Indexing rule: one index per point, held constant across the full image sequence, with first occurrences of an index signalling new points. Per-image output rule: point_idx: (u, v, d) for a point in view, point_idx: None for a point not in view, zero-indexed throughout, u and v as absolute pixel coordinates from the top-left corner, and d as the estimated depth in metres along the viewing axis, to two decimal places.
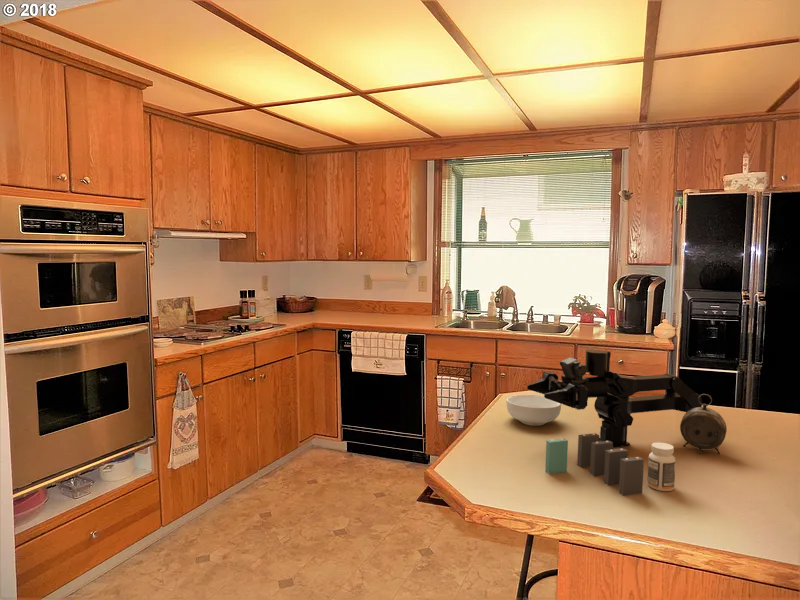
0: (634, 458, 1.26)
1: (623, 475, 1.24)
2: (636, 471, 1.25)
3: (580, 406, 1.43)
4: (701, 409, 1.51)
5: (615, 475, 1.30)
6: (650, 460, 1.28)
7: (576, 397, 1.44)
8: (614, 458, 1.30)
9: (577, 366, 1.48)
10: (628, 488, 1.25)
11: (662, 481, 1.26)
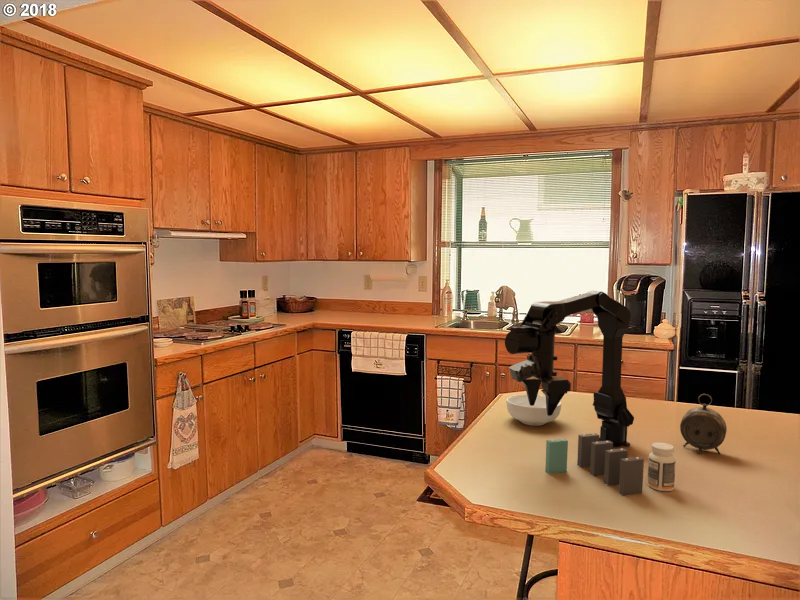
0: (634, 458, 1.26)
1: (623, 475, 1.24)
2: (636, 471, 1.25)
3: (568, 389, 1.35)
4: (701, 409, 1.51)
5: (615, 475, 1.30)
6: (650, 460, 1.28)
7: None
8: (614, 458, 1.30)
9: (523, 376, 1.38)
10: (628, 488, 1.25)
11: (662, 481, 1.26)
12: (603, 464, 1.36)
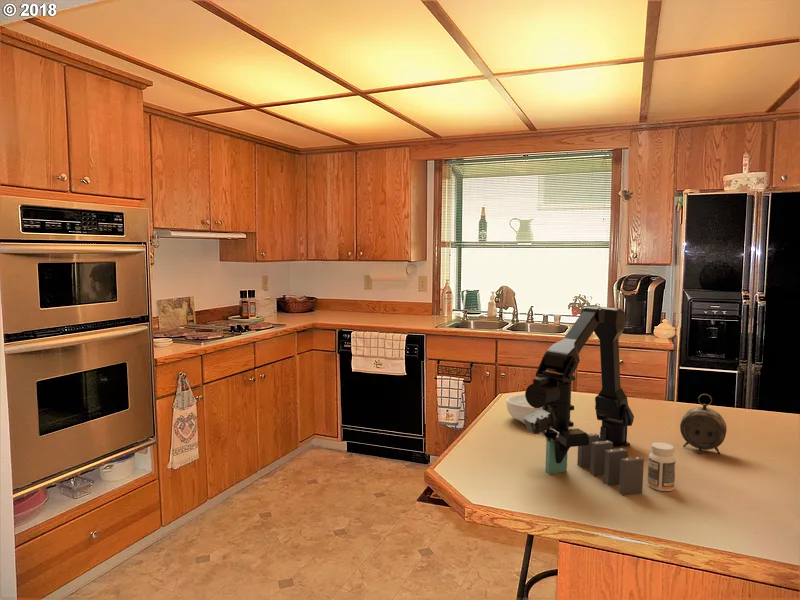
0: (634, 458, 1.26)
1: (623, 475, 1.24)
2: (636, 471, 1.25)
3: (587, 443, 1.28)
4: (701, 409, 1.51)
5: (615, 475, 1.30)
6: (650, 460, 1.28)
7: None
8: (614, 458, 1.30)
9: (539, 429, 1.31)
10: (628, 488, 1.25)
11: (662, 481, 1.26)
12: (603, 464, 1.36)
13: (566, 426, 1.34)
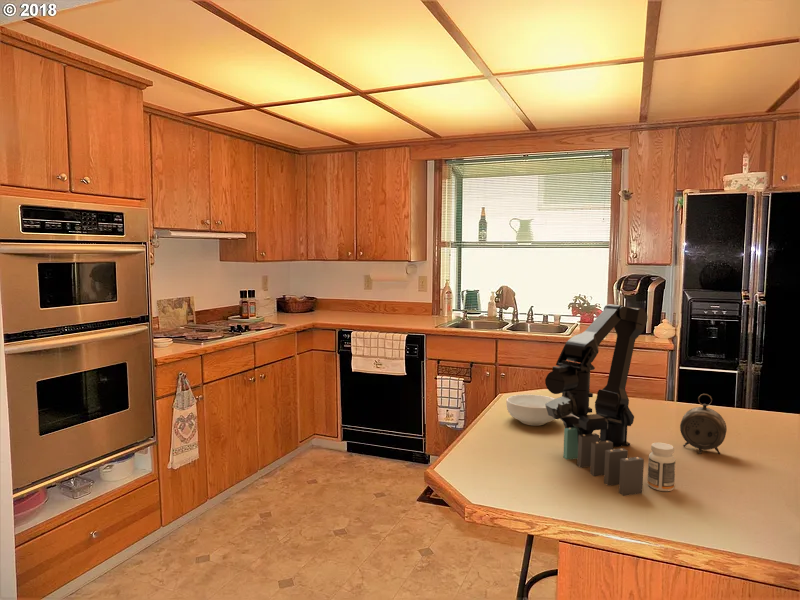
0: (634, 458, 1.26)
1: (623, 475, 1.24)
2: (636, 471, 1.25)
3: (605, 427, 1.38)
4: (701, 409, 1.51)
5: (615, 475, 1.30)
6: (650, 460, 1.28)
7: None
8: (614, 458, 1.30)
9: (561, 414, 1.40)
10: (628, 488, 1.25)
11: (663, 481, 1.26)
12: (603, 464, 1.36)
13: (585, 412, 1.43)
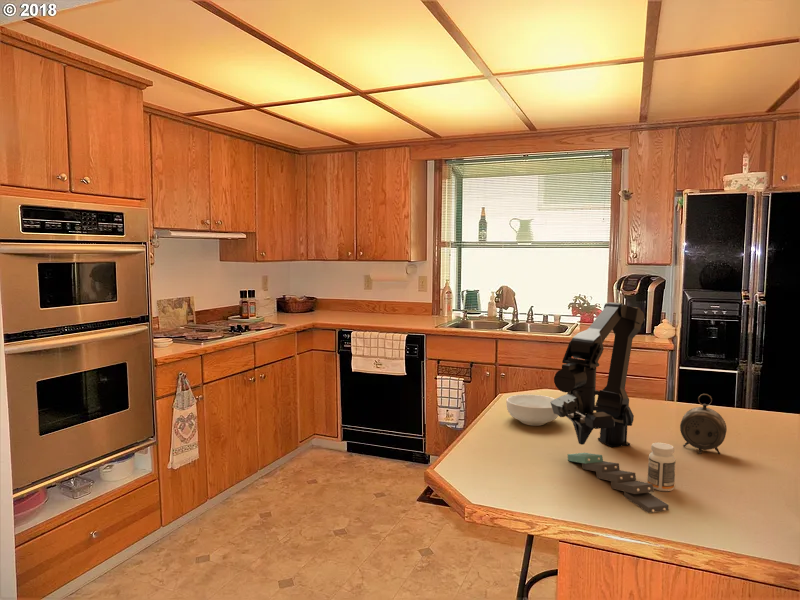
0: (661, 508, 1.17)
1: None
2: None
3: (612, 425, 1.35)
4: (701, 409, 1.51)
5: None
6: (650, 460, 1.28)
7: None
8: None
9: (566, 412, 1.38)
10: None
11: (663, 481, 1.26)
12: None
13: (591, 410, 1.41)
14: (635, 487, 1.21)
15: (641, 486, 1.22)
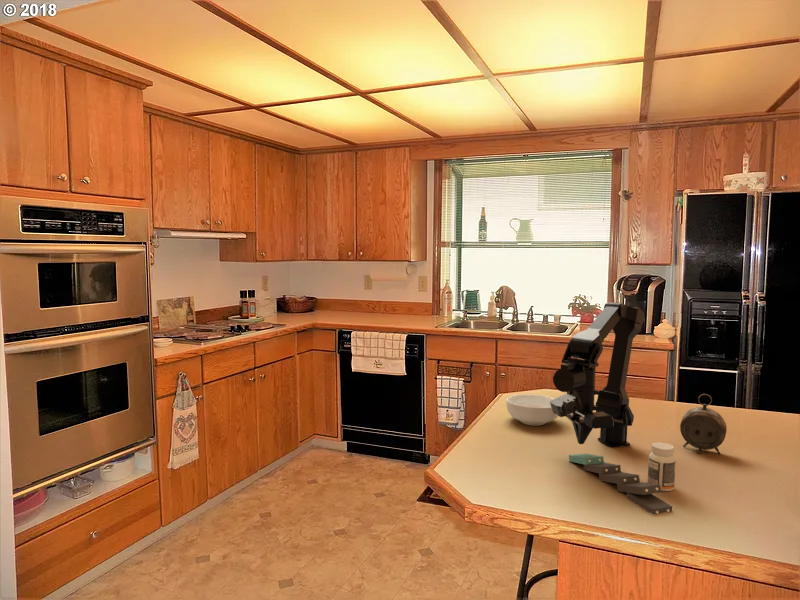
0: (665, 510, 1.17)
1: None
2: None
3: (611, 425, 1.35)
4: (701, 409, 1.51)
5: None
6: (650, 460, 1.28)
7: None
8: None
9: (566, 412, 1.38)
10: None
11: (663, 481, 1.26)
12: None
13: (591, 410, 1.41)
14: (643, 488, 1.20)
15: (649, 487, 1.20)
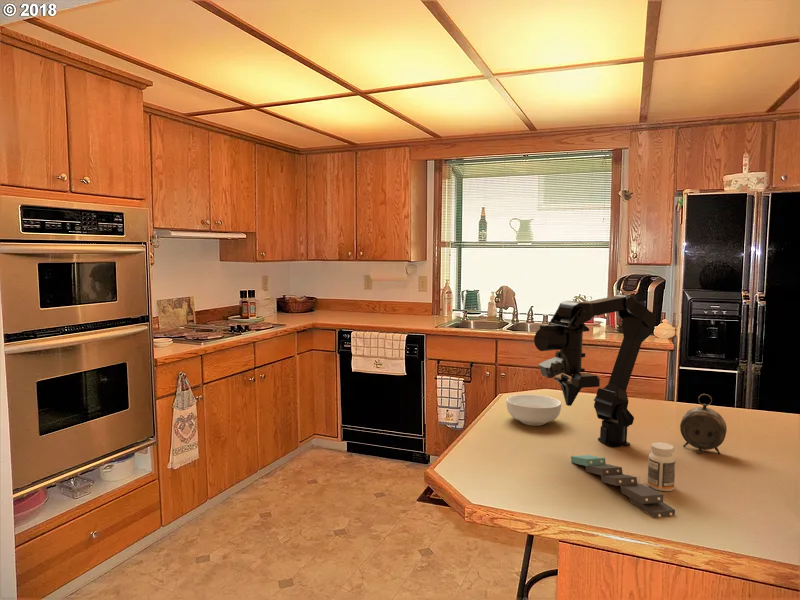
0: (668, 513, 1.15)
1: None
2: None
3: (597, 385, 1.41)
4: (701, 409, 1.51)
5: None
6: (650, 460, 1.28)
7: None
8: None
9: (554, 373, 1.43)
10: None
11: (663, 481, 1.26)
12: None
13: (578, 371, 1.46)
14: (643, 497, 1.17)
15: (650, 496, 1.17)
